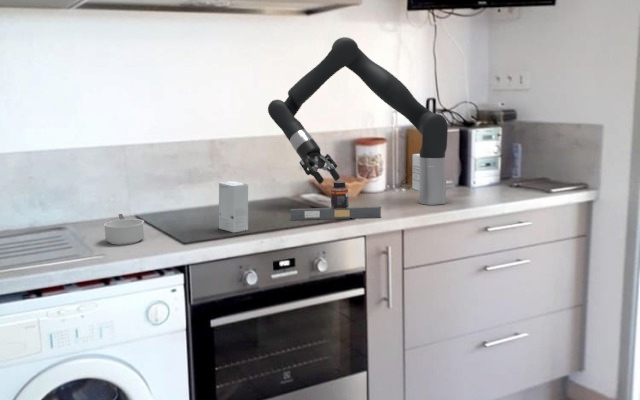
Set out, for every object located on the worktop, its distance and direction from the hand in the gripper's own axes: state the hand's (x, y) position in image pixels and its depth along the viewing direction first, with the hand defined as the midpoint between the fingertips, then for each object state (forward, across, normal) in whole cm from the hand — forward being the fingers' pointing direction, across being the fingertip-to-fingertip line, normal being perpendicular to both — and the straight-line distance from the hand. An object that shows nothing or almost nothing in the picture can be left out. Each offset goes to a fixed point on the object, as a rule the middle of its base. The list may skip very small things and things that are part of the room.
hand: (330, 180), depth 219 cm
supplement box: (+8, +63, +9) cm, 64 cm away
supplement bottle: (+11, 0, +5) cm, 12 cm away
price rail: (+13, -5, +4) cm, 14 cm away
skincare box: (+2, -37, +14) cm, 39 cm away
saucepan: (-10, -64, +28) cm, 71 cm away
